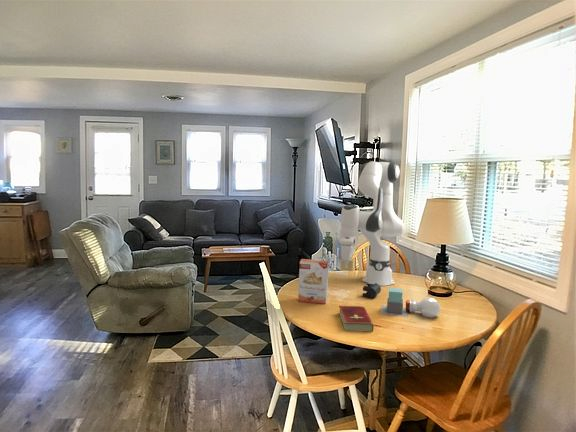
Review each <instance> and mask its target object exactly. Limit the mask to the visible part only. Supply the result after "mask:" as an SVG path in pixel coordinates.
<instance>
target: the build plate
mask: <svg viewBox="0 0 576 432" xmlns="http://www.w3.org/2000/svg"><path fill="white" fill-rule="evenodd" d="M380 310H381V311H380V314H381V315H382V314H383V315H387V316H390V315H391V316H397V317H405V318H408V317H409V311H408V312H407V311H406V307H403V311H402V314H396V313H387V305H381V309H380Z"/></svg>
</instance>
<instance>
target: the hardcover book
mask: <svg viewBox="0 0 576 432" xmlns="http://www.w3.org/2000/svg"><path fill="white" fill-rule="evenodd" d="M338 307H339V316H340V318H341V322H342V325H343V328H344V331H347V332H348V331H351V332H352V331H356V332H374V323H373V321H372V320H371V318H370V316H369V314H368V312H367V310H366V308H365V306H362V305H338Z"/></svg>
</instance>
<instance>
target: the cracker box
mask: <svg viewBox="0 0 576 432" xmlns="http://www.w3.org/2000/svg"><path fill="white" fill-rule="evenodd" d="M329 262H330V261H328V260H319V259H317V260H316V259H305V258H301V259H300V261H299V267H298V268H299V272H298V297H297V298H298V299H297V302H302V303H311V304H313V303H314V304H320V305H326V303H327V300H328V284H329V283H328V282H329V280H328V279H329Z"/></svg>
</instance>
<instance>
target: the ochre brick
mask: <svg viewBox="0 0 576 432" xmlns="http://www.w3.org/2000/svg"><path fill="white" fill-rule="evenodd" d="M355 261H356V258H355V257H354V258H352V257H351V258H350V260H349V267H348V268H345V264H344V261H342V259H340V265H339V268H340V269H339V271H346V272H353V271H354V269H355V263H356V262H355Z"/></svg>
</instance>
